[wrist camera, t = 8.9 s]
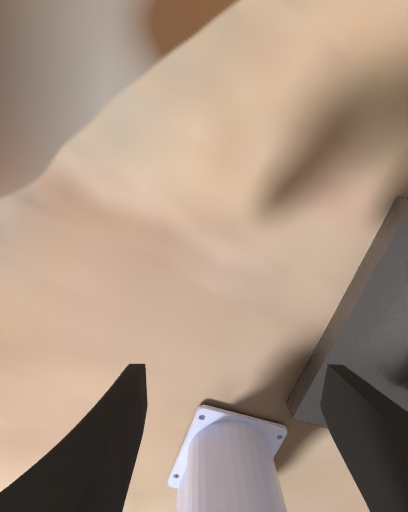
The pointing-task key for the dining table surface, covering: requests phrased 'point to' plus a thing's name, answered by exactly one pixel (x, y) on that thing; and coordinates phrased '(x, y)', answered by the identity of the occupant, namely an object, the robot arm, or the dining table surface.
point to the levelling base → (366, 325)
